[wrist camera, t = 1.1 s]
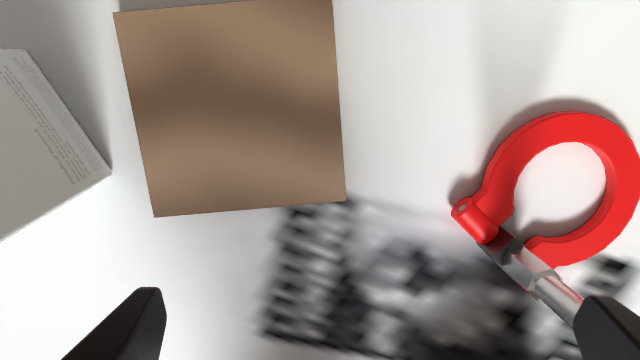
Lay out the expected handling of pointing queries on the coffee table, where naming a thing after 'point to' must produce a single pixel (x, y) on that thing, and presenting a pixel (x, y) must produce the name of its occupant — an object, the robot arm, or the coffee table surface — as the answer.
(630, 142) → the tow hook
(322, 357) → the coffee table surface
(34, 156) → the supplement box
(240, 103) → the walnut plate
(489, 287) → the coffee table surface
